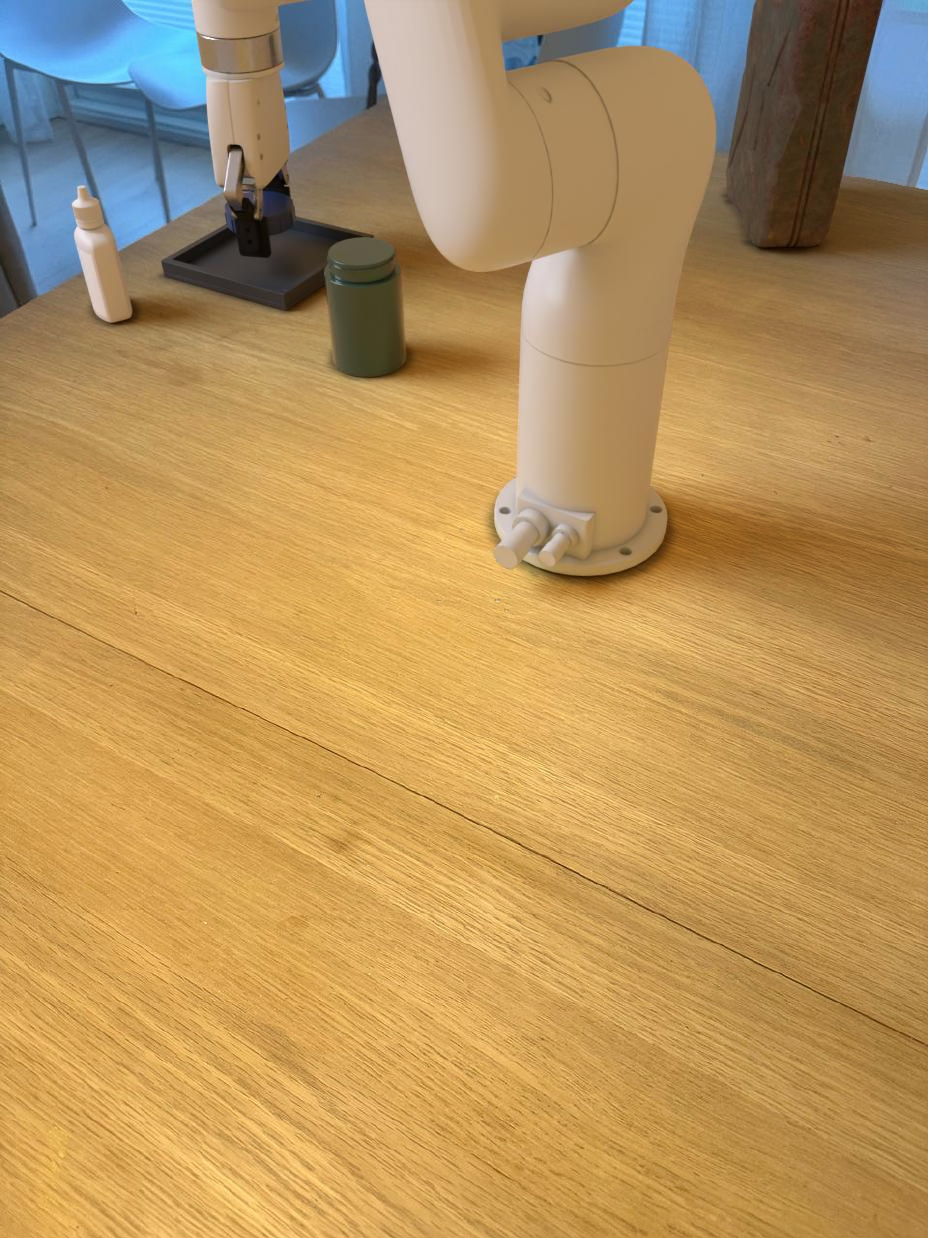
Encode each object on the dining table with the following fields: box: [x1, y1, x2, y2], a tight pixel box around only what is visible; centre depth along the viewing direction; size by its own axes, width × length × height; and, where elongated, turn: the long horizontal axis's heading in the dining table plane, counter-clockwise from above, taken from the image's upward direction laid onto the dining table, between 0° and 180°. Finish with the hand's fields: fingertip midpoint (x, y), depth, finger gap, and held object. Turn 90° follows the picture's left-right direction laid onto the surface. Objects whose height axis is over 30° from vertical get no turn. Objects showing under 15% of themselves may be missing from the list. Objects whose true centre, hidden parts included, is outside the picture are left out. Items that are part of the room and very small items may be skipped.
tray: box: [160, 215, 375, 311], centre depth 109 cm, size 16×16×2 cm
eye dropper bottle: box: [71, 184, 133, 324], centre depth 99 cm, size 4×6×12 cm
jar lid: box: [224, 191, 296, 236], centre depth 107 cm, size 7×7×2 cm
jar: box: [324, 237, 407, 378], centre depth 92 cm, size 7×7×10 cm
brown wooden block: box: [725, 0, 884, 248], centre depth 109 cm, size 19×8×25 cm, turn 1°
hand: (267, 238), depth 108 cm, fingers closed on jar lid, 6 cm apart
